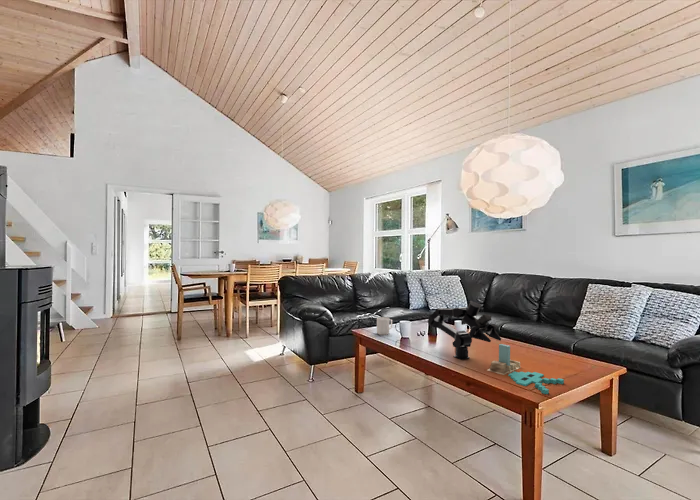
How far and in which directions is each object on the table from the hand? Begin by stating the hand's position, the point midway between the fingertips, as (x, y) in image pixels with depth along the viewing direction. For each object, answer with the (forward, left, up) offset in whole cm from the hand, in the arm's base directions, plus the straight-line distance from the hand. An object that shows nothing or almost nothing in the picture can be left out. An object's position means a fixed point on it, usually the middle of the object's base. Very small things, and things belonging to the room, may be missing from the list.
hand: (495, 340), depth 190 cm
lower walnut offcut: (+4, -3, -14) cm, 15 cm away
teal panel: (+4, +2, -14) cm, 14 cm away
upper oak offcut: (+4, -3, -12) cm, 13 cm away
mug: (-89, -7, -15) cm, 91 cm away
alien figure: (+21, 0, -15) cm, 26 cm away
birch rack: (+4, +2, -15) cm, 15 cm away
